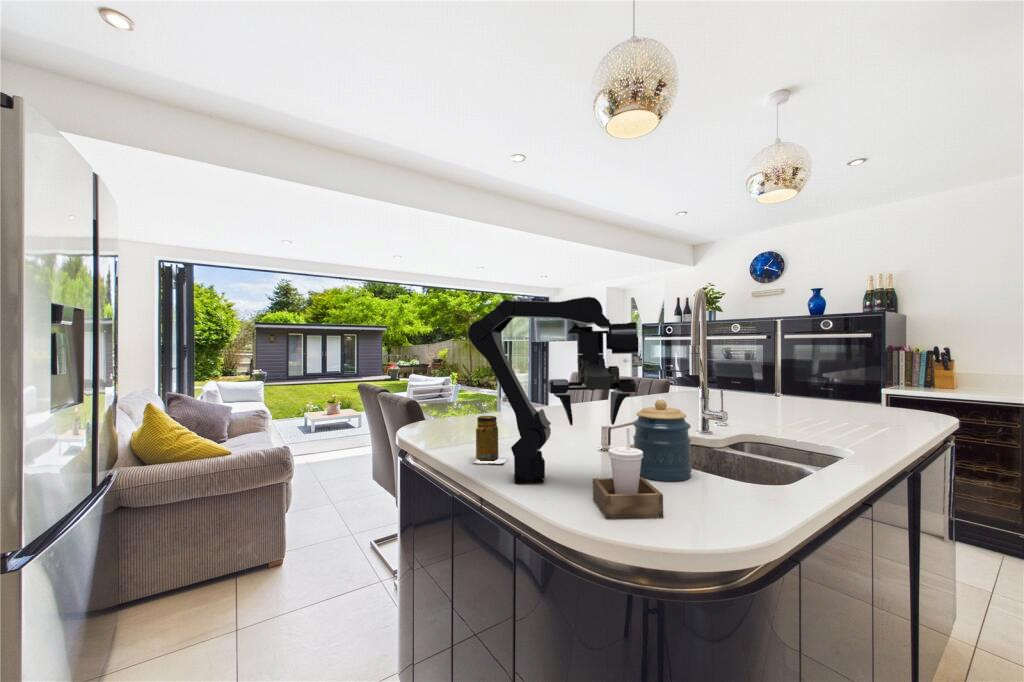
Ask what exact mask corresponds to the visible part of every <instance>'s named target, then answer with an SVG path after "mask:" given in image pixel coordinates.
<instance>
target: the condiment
mask: <svg viewBox="0 0 1024 682" xmlns="http://www.w3.org/2000/svg"><path fill="white" fill-rule="evenodd" d="M497 418H498V417H496V416H495V415H480V416H477V418H476V420H477V422H476V425H477V426H476V427H475V436H476V437H475V448H476V449H475V457H476V459H478V460H480V461H495V460H497V459H498V458H499V426H498V422H497ZM476 459H475V460H476Z"/></svg>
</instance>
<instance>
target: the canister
mask: <svg viewBox="0 0 1024 682" xmlns="http://www.w3.org/2000/svg"><path fill="white" fill-rule="evenodd" d="M635 415H636V416H637V419H636V420H634V421H633V422H632V425H633V427H634V428H635V430H634V435H633V436H632V437H633V448H636V449H639V450H641V451H643V458H642V459H641V468H640V477H643V478H644V479H649V480H653V481H661V482H662V481H663V482H679V481H686V480H688V479H689V478H691V476H692V475H691V473H692V471H693V470H692V463H691V462H692V461H691V458H692V457H691V453H692V452H691V441H692V440H691V438H690V436H689V431H690V429H691V428H692V427H691V424H690V423H688V421H686V419H685V418H687V416H688V415H687V414H686V413H685V412H682V411H681V410H680V409H679V408H675V407H667V402H666V401H665V400H664V399H656V401H655V402H654V406H647V407H643V408H641V409H640V410H639V411H638V412H636V414H635Z"/></svg>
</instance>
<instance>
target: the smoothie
mask: <svg viewBox="0 0 1024 682" xmlns="http://www.w3.org/2000/svg"><path fill="white" fill-rule="evenodd" d="M630 431H631V429H630V427H626V446H622V447H621V446H617V447H616V446H615V447H611V448H609V449H608V454H607V455H608V457H609V459H610V467H611V472H612V473H611V474H612V478H613V482H614V489H615V494H638V486H639V477H641V476H640V468H641V459H642V458H643V451H641V450H639V449H636V448H634V447H631V437H630V436H631V433H630Z"/></svg>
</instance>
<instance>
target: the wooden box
mask: <svg viewBox="0 0 1024 682" xmlns="http://www.w3.org/2000/svg"><path fill="white" fill-rule="evenodd" d="M592 499H593V501H594V503H595V504H596V506H597V507H598V509H599V511H600V512H601V514H602V515H603V516H604V518H605V520H626V519H627V520H628V519H630V520H631V519H637V520H638V519H664V518H665V517H664V494H663V493H662V492H660V490H659V489H657V488H656V487H655V486H654V485H652V484H651V483H650V482H649V481H648V480H646V478H645V477H642V476H640V477H639V486H638V494H615V489H614V482H613V477H602V478H601V477H599V478H592Z"/></svg>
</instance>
